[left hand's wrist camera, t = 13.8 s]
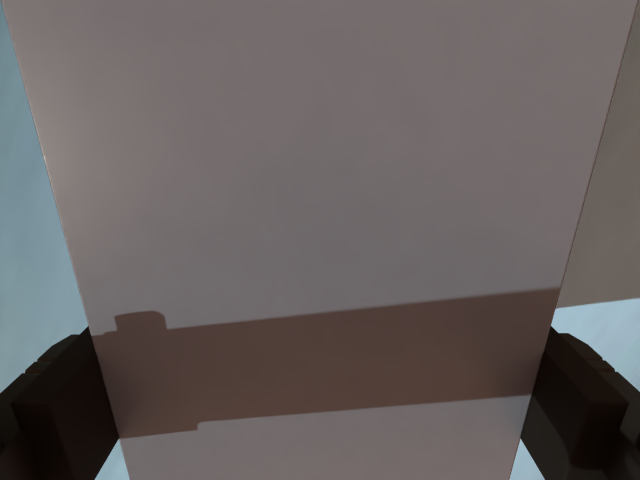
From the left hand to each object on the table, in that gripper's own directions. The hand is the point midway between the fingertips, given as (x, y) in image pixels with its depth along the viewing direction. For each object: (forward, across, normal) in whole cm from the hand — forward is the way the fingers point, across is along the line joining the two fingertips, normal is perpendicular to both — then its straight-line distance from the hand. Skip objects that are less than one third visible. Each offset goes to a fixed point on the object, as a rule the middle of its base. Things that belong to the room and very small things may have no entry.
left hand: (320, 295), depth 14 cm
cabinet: (+5, 0, -3) cm, 6 cm away
